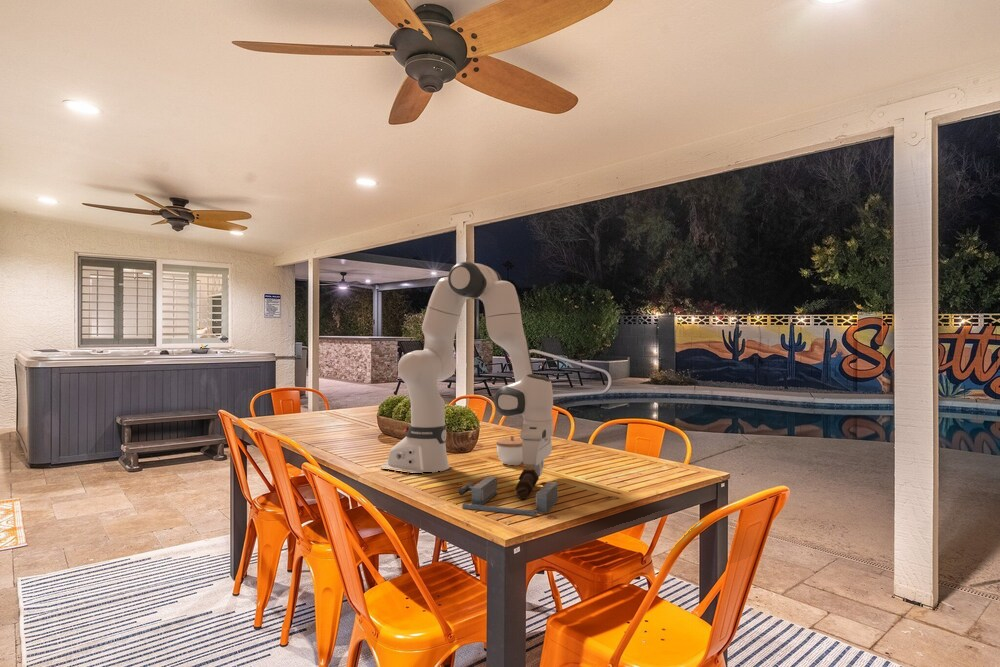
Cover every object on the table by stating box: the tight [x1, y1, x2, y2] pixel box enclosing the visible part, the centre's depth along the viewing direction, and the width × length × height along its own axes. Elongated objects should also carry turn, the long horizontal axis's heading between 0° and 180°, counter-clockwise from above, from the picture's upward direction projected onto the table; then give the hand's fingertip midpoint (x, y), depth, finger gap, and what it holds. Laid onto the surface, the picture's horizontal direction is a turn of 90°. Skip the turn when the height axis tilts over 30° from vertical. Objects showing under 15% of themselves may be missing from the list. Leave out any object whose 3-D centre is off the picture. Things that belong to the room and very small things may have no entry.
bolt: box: [514, 468, 540, 499], centre depth 156 cm, size 6×5×15 cm
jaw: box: [457, 476, 498, 505], centre depth 149 cm, size 8×12×4 cm, turn 161°
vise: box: [461, 481, 559, 517], centre depth 145 cm, size 21×15×5 cm
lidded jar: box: [495, 435, 523, 466], centre depth 192 cm, size 11×11×9 cm
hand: (538, 475), depth 167 cm, fingers closed
